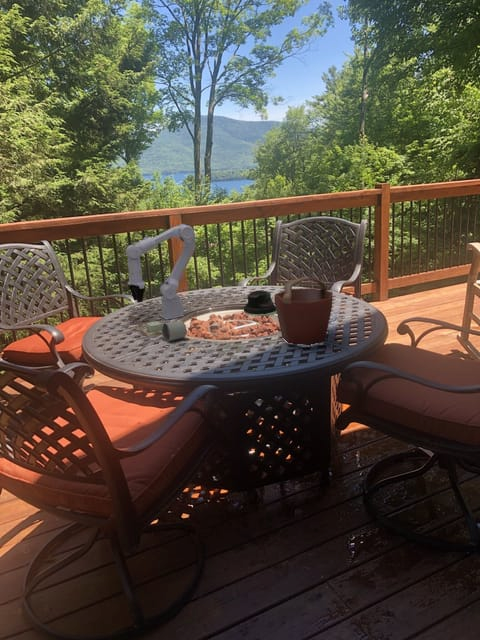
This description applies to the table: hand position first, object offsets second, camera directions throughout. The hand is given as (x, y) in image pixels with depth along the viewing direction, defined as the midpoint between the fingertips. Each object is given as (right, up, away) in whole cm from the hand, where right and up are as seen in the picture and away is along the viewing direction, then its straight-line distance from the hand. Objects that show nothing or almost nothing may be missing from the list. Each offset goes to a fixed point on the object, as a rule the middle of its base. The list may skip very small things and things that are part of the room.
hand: (138, 301), depth 223 cm
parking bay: (+9, -14, -13) cm, 21 cm away
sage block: (+10, -14, -15) cm, 23 cm away
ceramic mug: (+19, -17, -23) cm, 35 cm away
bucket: (+72, -17, -31) cm, 80 cm away
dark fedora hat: (+57, -4, +13) cm, 58 cm away
